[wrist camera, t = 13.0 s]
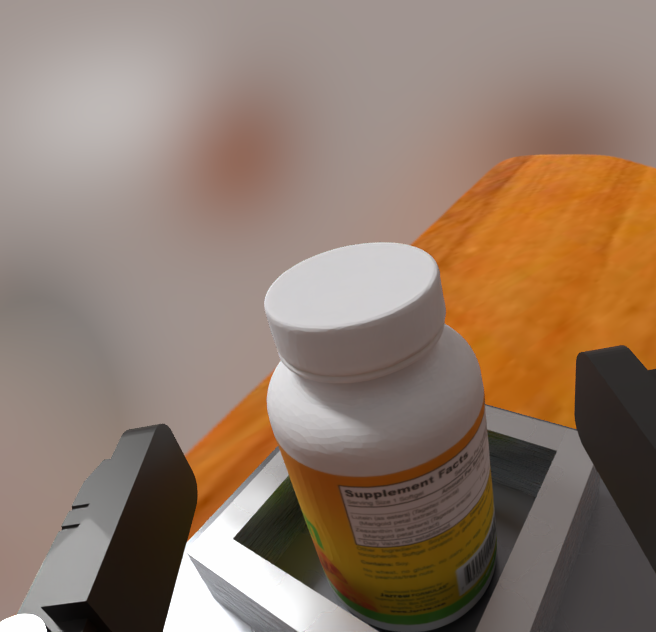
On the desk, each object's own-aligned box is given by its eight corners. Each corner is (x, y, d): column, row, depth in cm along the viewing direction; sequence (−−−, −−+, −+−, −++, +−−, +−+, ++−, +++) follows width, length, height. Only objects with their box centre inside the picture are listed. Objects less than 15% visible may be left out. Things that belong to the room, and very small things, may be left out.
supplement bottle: (320, 499, 19) (240, 258, 14) (467, 468, 18) (436, 213, 14) (331, 657, 14) (216, 375, 9) (527, 619, 14) (513, 309, 9)
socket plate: (355, 383, 25) (341, 324, 24) (700, 485, 17) (718, 407, 15) (119, 644, 17) (68, 583, 15) (580, 1113, 8) (587, 1099, 7)
